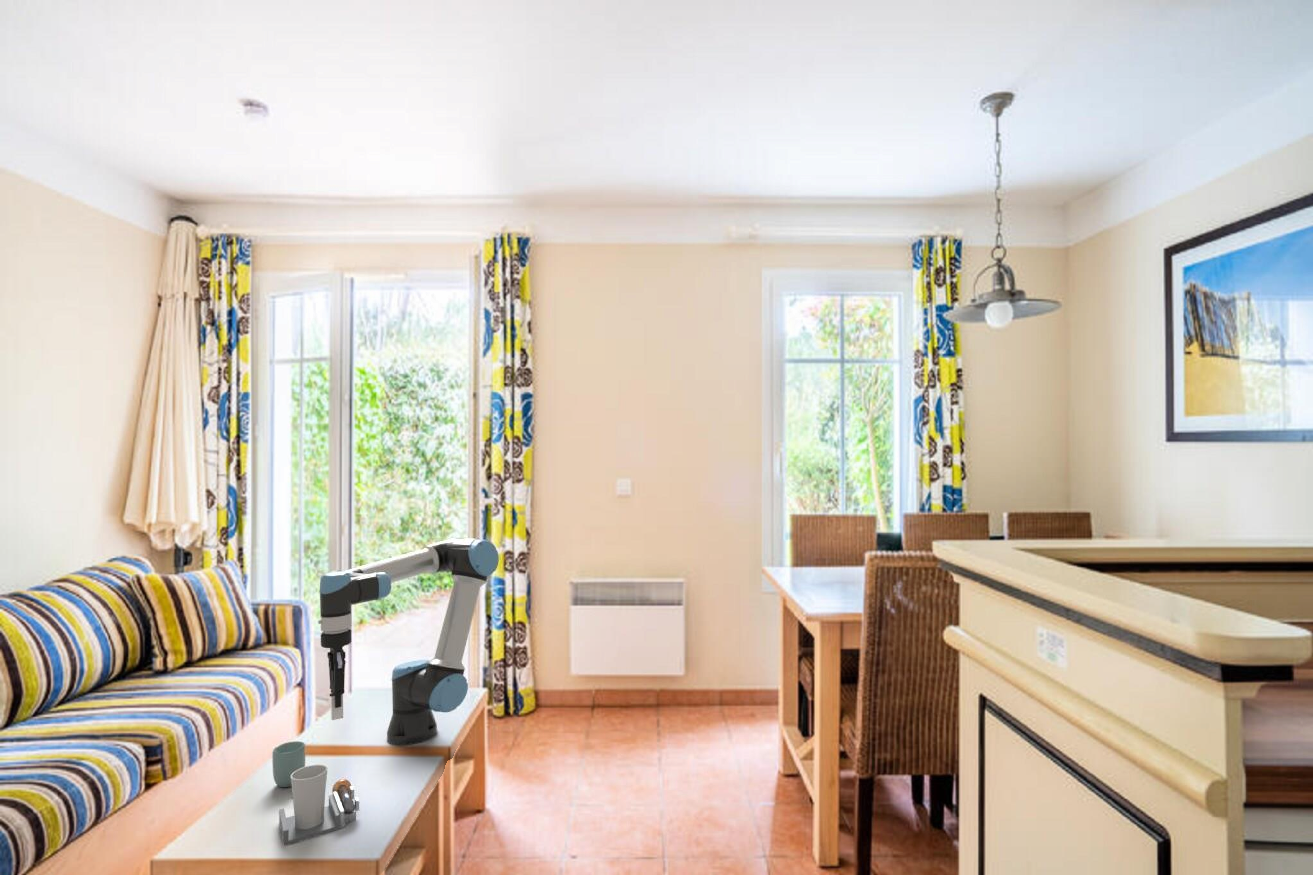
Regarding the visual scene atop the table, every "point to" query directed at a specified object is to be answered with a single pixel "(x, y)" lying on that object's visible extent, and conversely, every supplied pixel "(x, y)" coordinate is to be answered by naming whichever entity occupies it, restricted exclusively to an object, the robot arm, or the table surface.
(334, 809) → the dock
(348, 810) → the lock pin
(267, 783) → the table surface
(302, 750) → the cup
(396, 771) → the table surface
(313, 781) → the cup
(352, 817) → the lug rail
